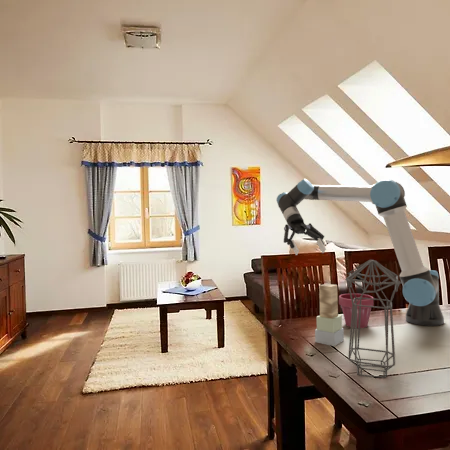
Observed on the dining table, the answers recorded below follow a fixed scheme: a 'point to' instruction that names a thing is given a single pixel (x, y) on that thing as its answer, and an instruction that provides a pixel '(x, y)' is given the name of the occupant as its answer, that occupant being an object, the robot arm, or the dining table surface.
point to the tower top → (329, 323)
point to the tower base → (329, 337)
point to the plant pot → (365, 311)
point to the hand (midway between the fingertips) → (311, 252)
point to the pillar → (328, 300)
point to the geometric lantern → (354, 307)
